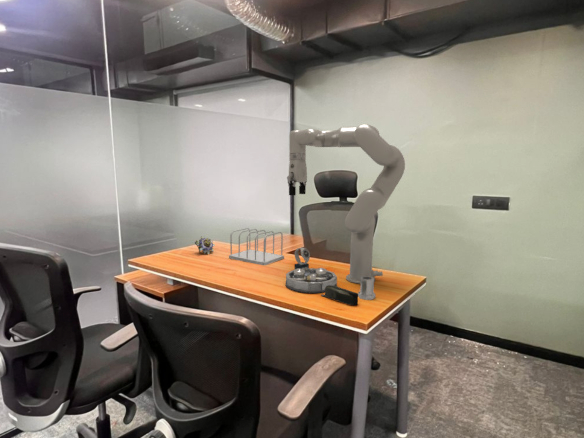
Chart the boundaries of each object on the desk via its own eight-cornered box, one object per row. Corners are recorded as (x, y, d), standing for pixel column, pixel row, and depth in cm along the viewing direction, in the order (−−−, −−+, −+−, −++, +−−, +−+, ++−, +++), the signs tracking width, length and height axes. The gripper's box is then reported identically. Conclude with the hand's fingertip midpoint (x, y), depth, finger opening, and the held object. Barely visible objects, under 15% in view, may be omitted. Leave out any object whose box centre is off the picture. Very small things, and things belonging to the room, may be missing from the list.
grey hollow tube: (371, 293, 136) (372, 275, 135) (376, 299, 130) (377, 280, 129) (356, 294, 136) (357, 275, 135) (361, 300, 130) (362, 280, 129)
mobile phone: (359, 292, 125) (324, 282, 134) (355, 294, 123) (320, 284, 132) (358, 305, 126) (324, 294, 135) (354, 307, 123) (319, 296, 133)
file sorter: (228, 258, 190) (228, 230, 188) (249, 252, 204) (249, 226, 202) (264, 265, 176) (264, 235, 174) (284, 258, 191) (284, 230, 188)
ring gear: (330, 274, 158) (330, 267, 158) (341, 289, 137) (341, 282, 137) (284, 275, 156) (284, 268, 155) (288, 291, 135) (288, 283, 135)
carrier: (330, 276, 159) (330, 263, 158) (342, 292, 137) (342, 277, 136) (283, 277, 156) (283, 264, 155) (287, 294, 135) (288, 279, 134)
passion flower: (208, 263, 200) (201, 249, 192) (194, 257, 205) (187, 243, 197) (220, 249, 207) (214, 235, 199) (206, 244, 212) (200, 230, 204)
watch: (304, 273, 164) (304, 250, 162) (291, 269, 169) (292, 247, 168) (311, 270, 168) (312, 248, 166) (299, 267, 173) (299, 245, 172)
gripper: (295, 156, 152) (295, 196, 154) (313, 158, 167) (312, 193, 169) (280, 157, 156) (280, 195, 158) (299, 158, 171) (299, 193, 173)
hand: (297, 194), depth 164 cm, fingers open, 9 cm apart
